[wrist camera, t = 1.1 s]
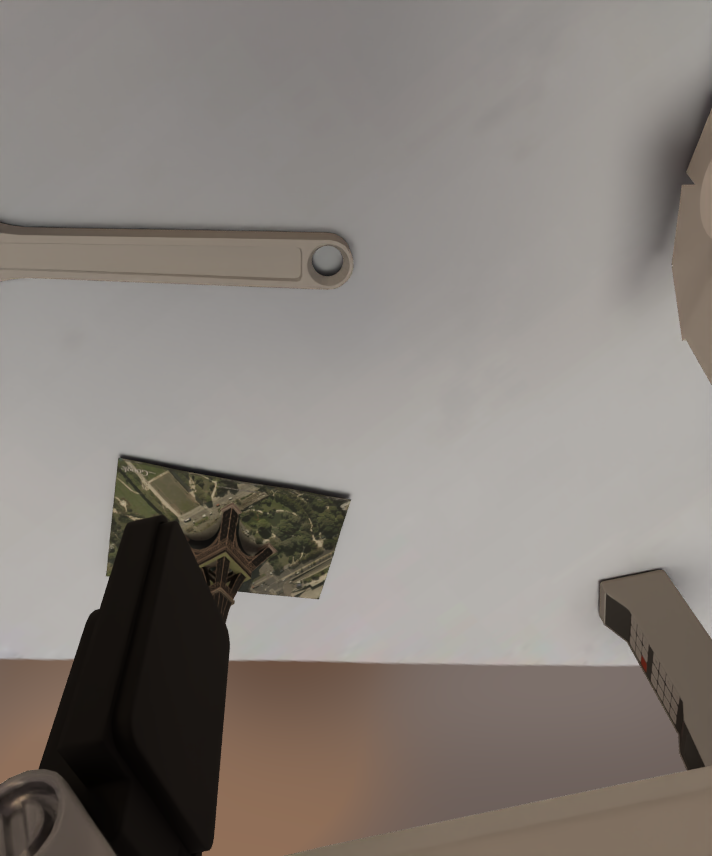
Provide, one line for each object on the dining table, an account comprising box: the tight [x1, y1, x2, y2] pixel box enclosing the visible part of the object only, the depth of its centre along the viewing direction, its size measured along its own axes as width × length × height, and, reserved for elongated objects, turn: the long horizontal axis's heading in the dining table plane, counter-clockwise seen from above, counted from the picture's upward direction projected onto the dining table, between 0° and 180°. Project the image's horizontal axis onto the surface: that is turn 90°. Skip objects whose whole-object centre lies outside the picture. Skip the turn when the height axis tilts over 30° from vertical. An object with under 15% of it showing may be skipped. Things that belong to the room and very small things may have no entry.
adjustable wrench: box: [0, 223, 354, 290], centre depth 33 cm, size 25×6×2 cm, turn 82°
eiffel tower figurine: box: [106, 458, 351, 623], centre depth 39 cm, size 15×10×13 cm
